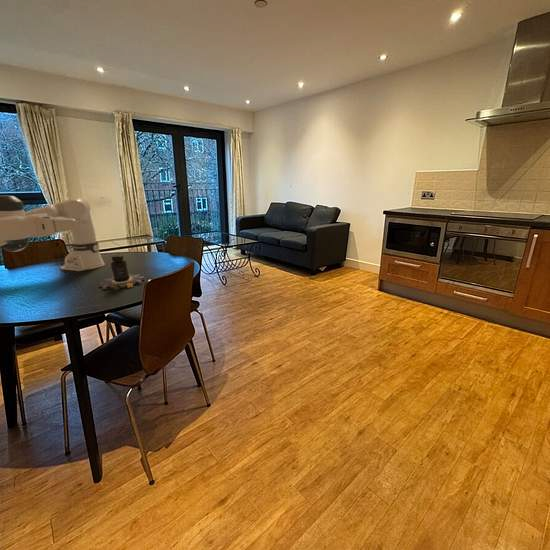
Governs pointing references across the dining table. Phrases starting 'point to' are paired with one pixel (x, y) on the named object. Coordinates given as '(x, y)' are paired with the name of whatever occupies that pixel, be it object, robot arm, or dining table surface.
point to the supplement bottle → (119, 268)
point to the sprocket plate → (117, 285)
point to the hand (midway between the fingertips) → (82, 220)
